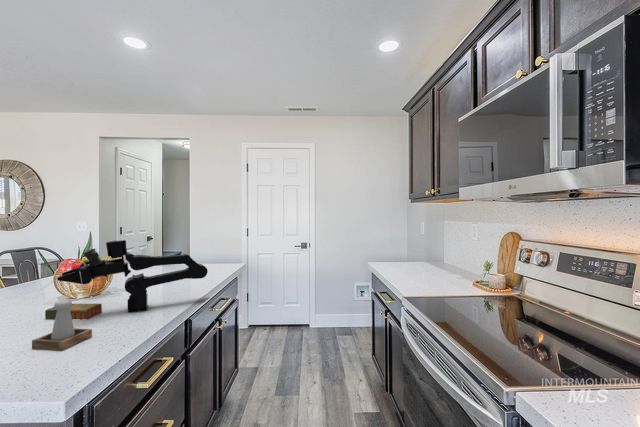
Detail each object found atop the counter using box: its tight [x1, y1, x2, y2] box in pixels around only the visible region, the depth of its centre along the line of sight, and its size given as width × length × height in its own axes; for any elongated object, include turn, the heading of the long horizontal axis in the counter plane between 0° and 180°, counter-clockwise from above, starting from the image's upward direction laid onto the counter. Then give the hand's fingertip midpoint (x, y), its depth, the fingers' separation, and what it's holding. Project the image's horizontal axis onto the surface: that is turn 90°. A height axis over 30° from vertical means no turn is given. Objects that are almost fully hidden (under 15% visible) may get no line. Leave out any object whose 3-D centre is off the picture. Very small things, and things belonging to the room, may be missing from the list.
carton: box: [44, 303, 103, 321], centre depth 122 cm, size 8×16×4 cm, turn 89°
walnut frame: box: [31, 327, 93, 352], centre depth 97 cm, size 10×10×2 cm
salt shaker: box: [51, 299, 75, 341], centre depth 97 cm, size 6×6×13 cm
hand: (59, 276), depth 117 cm, fingers open, 9 cm apart
